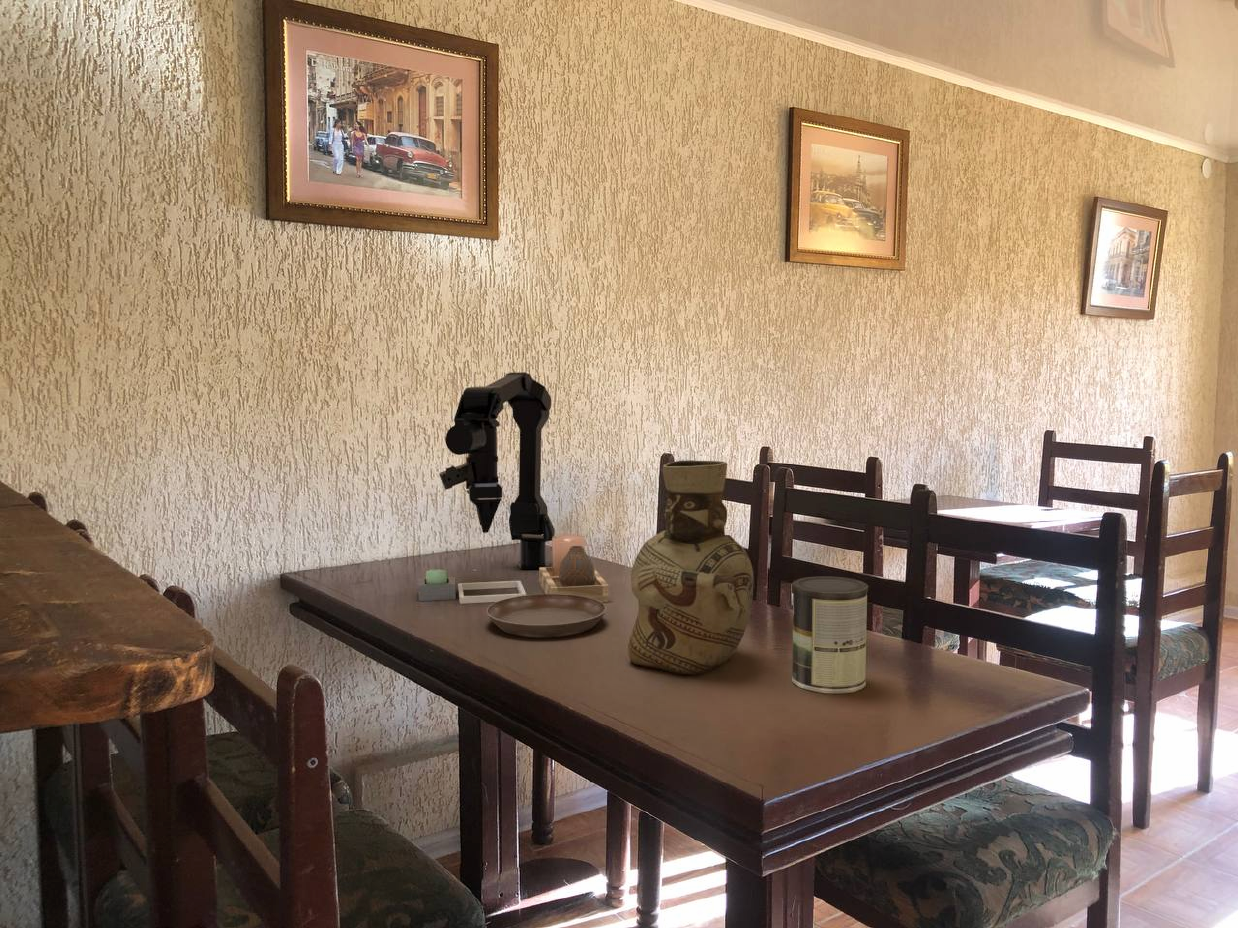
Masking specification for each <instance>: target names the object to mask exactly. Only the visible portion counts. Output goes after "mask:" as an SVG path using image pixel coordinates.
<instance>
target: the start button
mask: <svg viewBox="0 0 1238 928" xmlns="http://www.w3.org/2000/svg"><path fill="white" fill-rule="evenodd" d="M447 577H448V570H446V569H439V568H438V569H430V570H429V569H428V570H426V571H425V578H426V584H440V583H447Z"/></svg>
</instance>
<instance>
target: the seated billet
mask: <svg viewBox="0 0 1238 928" xmlns="http://www.w3.org/2000/svg"><path fill="white" fill-rule="evenodd" d="M551 544H552V546H551V549H552V551H551V552H552V567H553V576H559V568H560V564H561V562H562V560H563V558H564V557H565V556H566V554H567V553H568V551H569V549H570V547H571V546H582V547H583V549H584V551H585V552H586V537H585V535H581V534H571V533H569V534H557V535H554V536H553V537H552V543H551Z"/></svg>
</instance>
